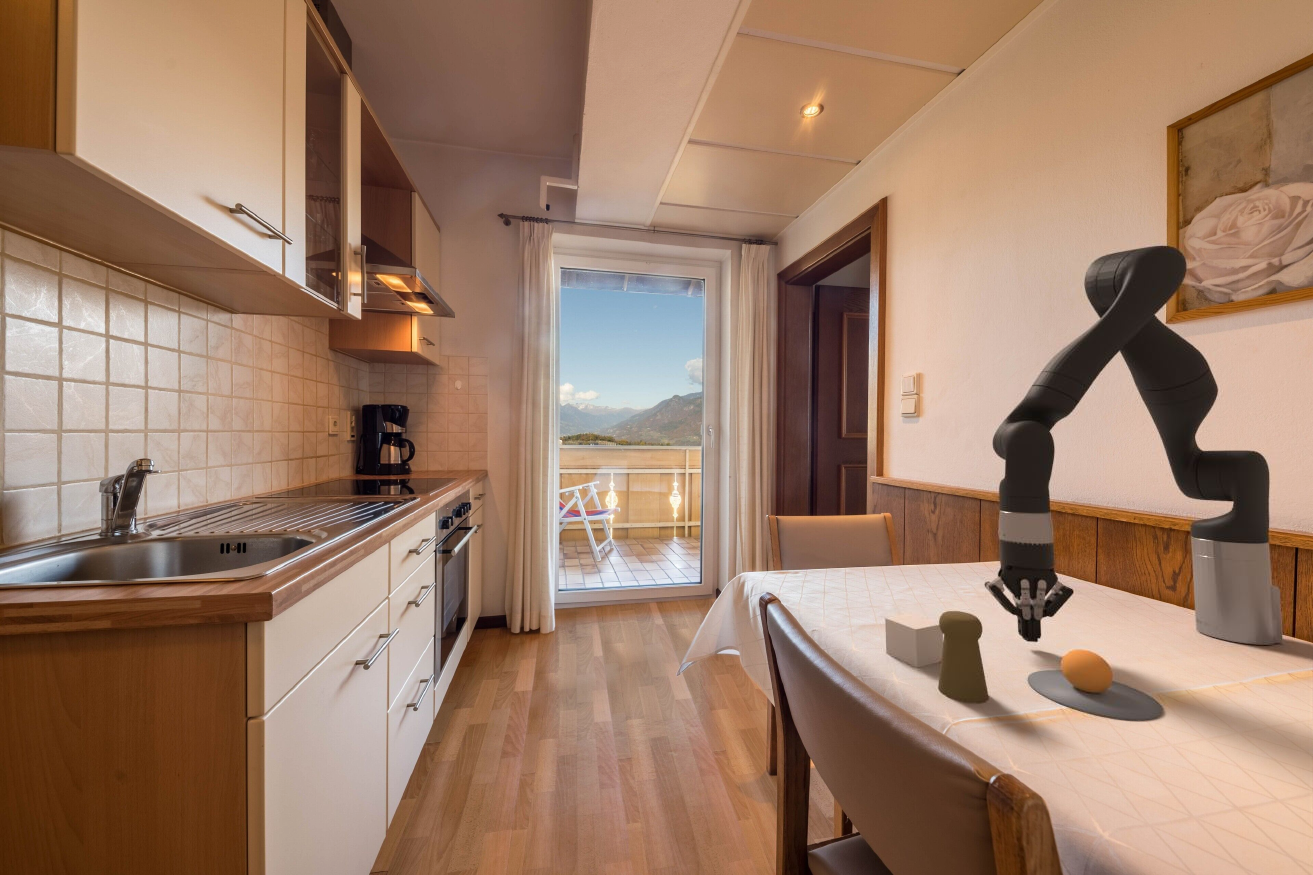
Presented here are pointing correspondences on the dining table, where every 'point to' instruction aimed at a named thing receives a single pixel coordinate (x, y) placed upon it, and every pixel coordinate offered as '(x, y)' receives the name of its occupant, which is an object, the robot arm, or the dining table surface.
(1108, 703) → the disc
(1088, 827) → the dining table surface
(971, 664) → the cork
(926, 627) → the grey cube
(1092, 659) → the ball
